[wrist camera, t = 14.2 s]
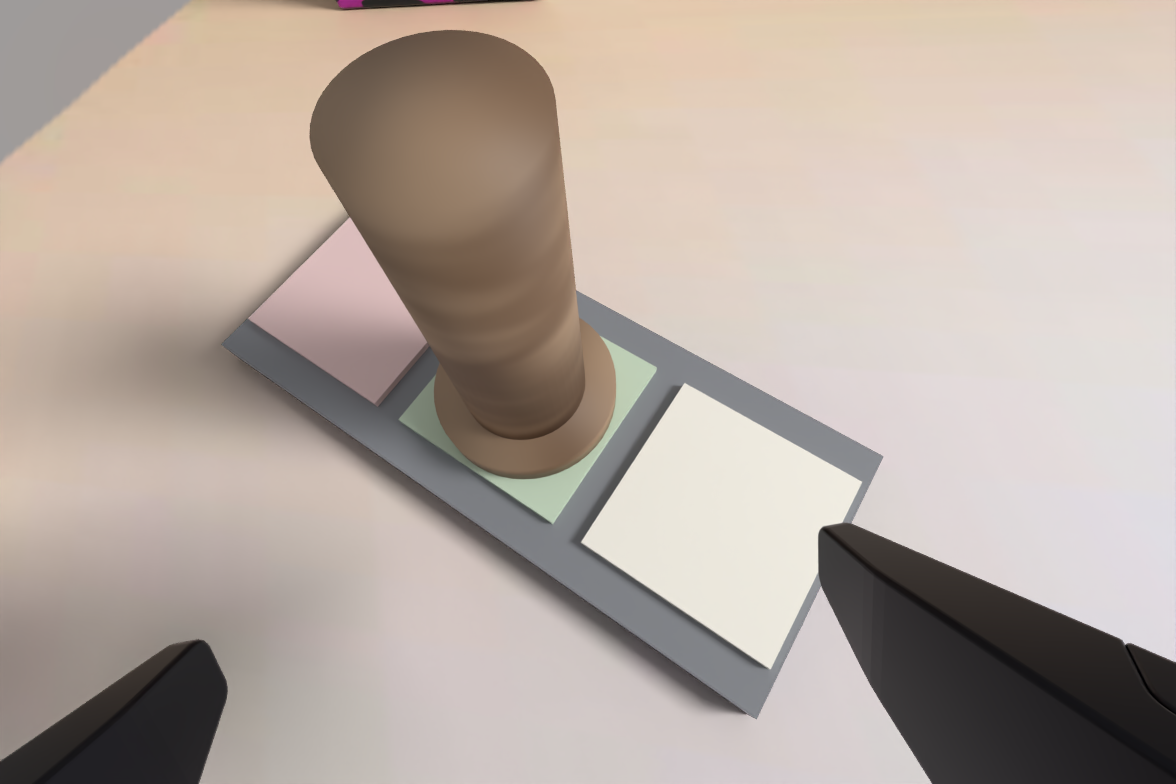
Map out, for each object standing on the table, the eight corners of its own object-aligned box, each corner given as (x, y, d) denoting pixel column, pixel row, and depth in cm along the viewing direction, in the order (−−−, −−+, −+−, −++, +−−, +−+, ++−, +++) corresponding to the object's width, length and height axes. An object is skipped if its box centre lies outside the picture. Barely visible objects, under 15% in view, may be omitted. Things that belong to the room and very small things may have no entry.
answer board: (748, 715, 17) (759, 720, 16) (237, 356, 22) (216, 340, 21) (871, 465, 20) (887, 453, 19) (389, 201, 25) (378, 180, 24)
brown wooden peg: (501, 516, 18) (347, 340, 8) (411, 378, 20) (193, 91, 10) (651, 411, 19) (695, 135, 9) (551, 290, 22) (492, -48, 11)
